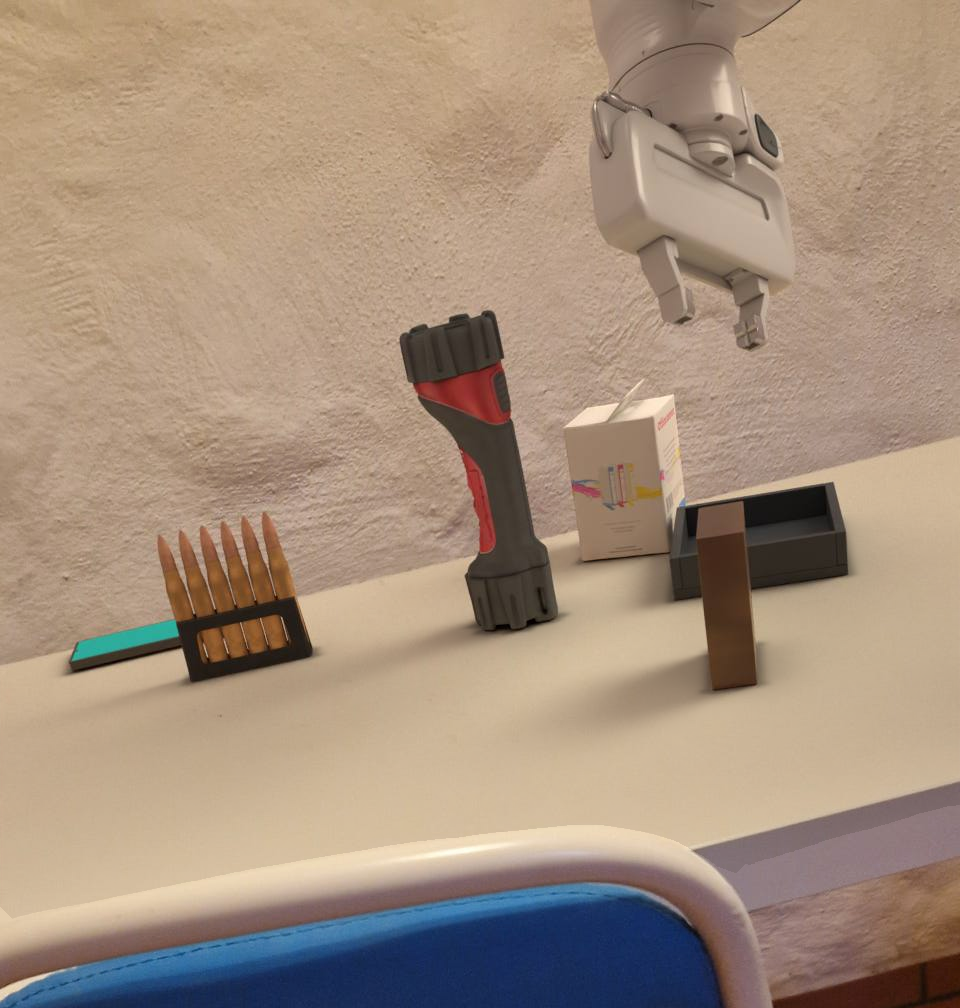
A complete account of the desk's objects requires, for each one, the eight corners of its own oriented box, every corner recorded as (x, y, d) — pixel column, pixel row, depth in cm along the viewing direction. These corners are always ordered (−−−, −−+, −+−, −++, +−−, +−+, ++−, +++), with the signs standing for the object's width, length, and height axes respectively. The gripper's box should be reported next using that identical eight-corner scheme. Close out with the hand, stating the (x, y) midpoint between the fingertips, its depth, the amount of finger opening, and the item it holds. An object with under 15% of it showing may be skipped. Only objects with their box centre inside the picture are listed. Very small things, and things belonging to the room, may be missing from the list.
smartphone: (226, 625, 129) (68, 662, 129) (229, 634, 130) (71, 671, 129) (227, 606, 135) (76, 641, 135) (230, 614, 136) (79, 649, 136)
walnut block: (755, 645, 100) (743, 500, 94) (757, 684, 93) (743, 531, 88) (713, 650, 100) (698, 508, 95) (712, 690, 94) (695, 539, 89)
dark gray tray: (835, 520, 123) (833, 481, 121) (848, 574, 109) (846, 531, 107) (680, 544, 126) (676, 507, 124) (674, 600, 112) (669, 558, 111)
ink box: (603, 536, 134) (582, 385, 127) (689, 525, 131) (672, 371, 124) (580, 563, 127) (557, 406, 120) (671, 552, 124) (652, 391, 117)
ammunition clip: (313, 649, 121) (275, 506, 114) (312, 655, 119) (274, 511, 113) (193, 675, 121) (149, 534, 115) (191, 682, 120) (146, 539, 113)
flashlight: (447, 624, 119) (386, 330, 107) (531, 599, 121) (480, 306, 108) (475, 644, 113) (413, 334, 101) (564, 617, 114) (513, 308, 102)
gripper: (628, 52, 86) (670, 279, 87) (793, 148, 101) (828, 341, 102) (550, 110, 90) (591, 325, 91) (720, 193, 105) (754, 378, 106)
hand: (718, 334), depth 96 cm, fingers open, 8 cm apart
